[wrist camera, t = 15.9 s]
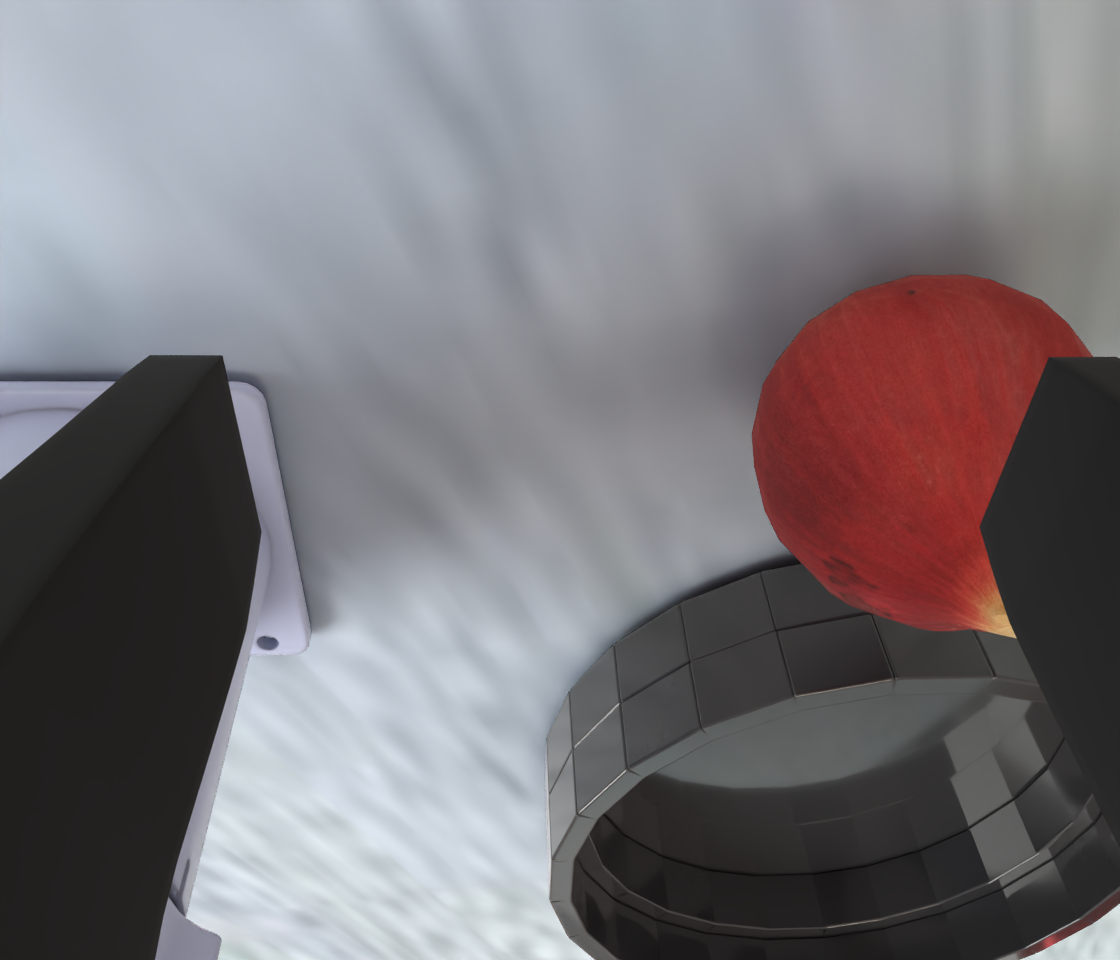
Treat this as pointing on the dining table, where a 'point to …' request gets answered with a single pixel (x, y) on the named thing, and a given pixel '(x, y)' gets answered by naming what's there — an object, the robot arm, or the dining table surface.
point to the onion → (903, 441)
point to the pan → (816, 790)
